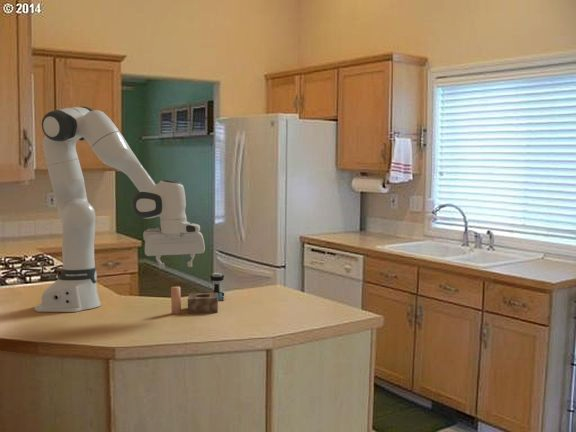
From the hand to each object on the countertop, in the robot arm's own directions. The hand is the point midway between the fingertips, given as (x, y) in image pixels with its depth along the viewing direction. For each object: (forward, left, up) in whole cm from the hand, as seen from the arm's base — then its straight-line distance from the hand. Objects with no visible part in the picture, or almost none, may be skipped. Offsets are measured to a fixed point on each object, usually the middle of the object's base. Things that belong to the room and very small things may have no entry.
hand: (176, 267), depth 214 cm
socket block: (+9, +4, -16) cm, 18 cm away
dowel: (0, 0, -16) cm, 16 cm away
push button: (+14, +21, -16) cm, 30 cm away
